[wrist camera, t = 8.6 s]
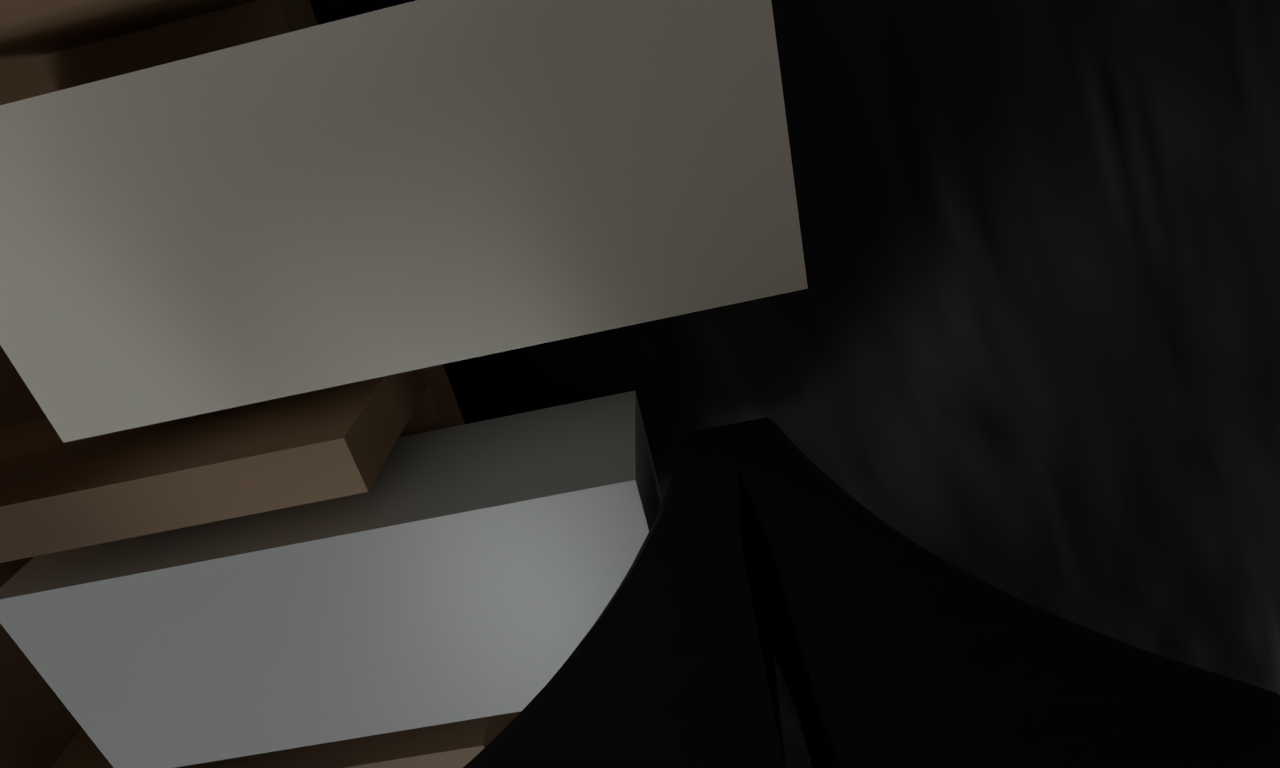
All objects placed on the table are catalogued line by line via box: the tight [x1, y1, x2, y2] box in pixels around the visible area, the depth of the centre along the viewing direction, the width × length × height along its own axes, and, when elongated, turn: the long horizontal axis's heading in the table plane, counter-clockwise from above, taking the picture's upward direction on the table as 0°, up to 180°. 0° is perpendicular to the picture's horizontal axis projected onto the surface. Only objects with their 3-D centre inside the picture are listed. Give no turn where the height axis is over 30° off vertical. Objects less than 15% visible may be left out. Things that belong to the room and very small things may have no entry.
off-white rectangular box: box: [0, 0, 808, 443], centre depth 8 cm, size 8×3×2 cm, turn 102°
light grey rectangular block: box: [0, 391, 663, 768], centre depth 10 cm, size 8×3×2 cm, turn 102°
